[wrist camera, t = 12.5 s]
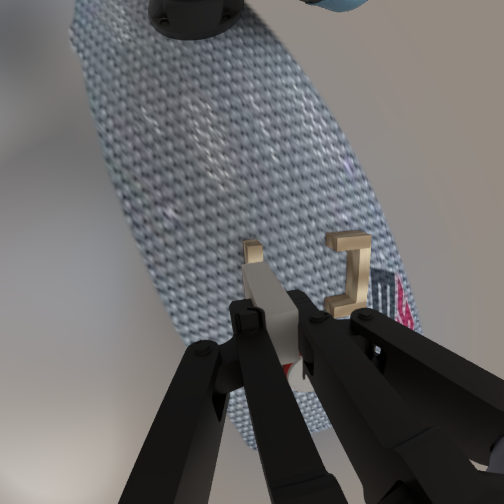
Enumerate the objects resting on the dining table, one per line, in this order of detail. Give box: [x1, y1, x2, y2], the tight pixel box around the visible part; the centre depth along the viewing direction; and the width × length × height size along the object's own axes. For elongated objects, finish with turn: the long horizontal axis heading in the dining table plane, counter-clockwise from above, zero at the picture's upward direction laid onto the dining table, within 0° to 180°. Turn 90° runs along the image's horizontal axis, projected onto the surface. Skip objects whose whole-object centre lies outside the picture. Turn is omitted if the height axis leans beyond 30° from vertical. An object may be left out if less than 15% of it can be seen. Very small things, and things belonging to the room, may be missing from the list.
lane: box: [243, 230, 371, 318], centre depth 41 cm, size 13×19×4 cm
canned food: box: [282, 352, 314, 392], centre depth 40 cm, size 8×8×11 cm
